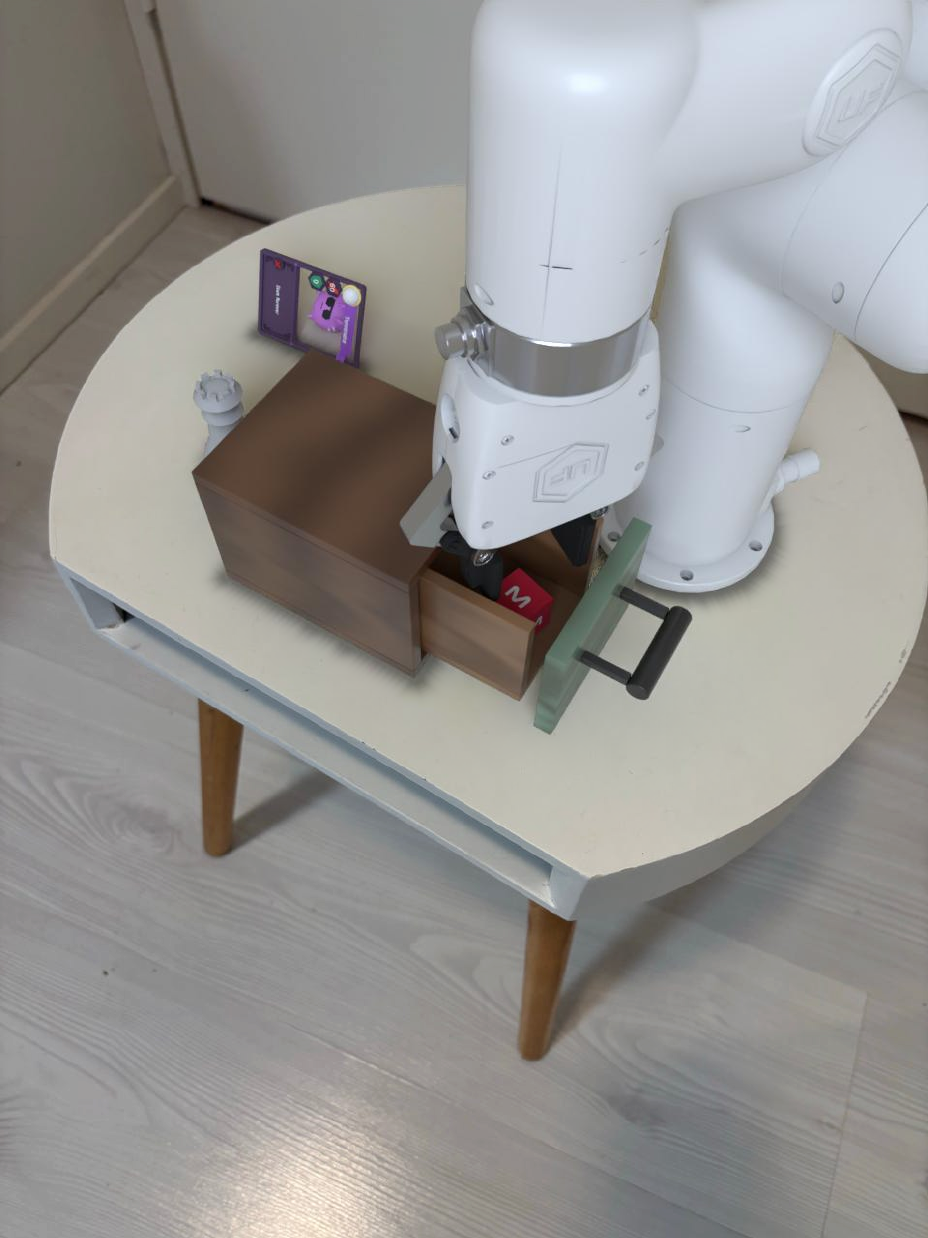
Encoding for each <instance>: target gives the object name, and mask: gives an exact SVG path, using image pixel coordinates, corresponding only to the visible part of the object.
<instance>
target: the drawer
mask: <svg viewBox="0 0 928 1238" xmlns="http://www.w3.org/2000/svg"><path fill="white" fill-rule="evenodd" d="M603 523H604V518H600V519H597V522H596V526H595V531H594V535H593V539H592V542H591V547H590V552H589V556H588V561H587V564H585V565H583V566H580V567H577V566H573V565H572V563H571V562H570V560H569V559H568V557H567V556H566V554H565V553H564V551H563V550H562V548H561V547H560V545H559V544H558V542H557V541H556V539H555V538H554V536H553V534H552V533H551V530H550V529H548V530H545V531H543V532H540V533H538V534H535V535H532V536H530V537H527V538H525V539H522V540H519V541H517V542H514V543H511V544H508V545H505V546H502V547H498V548H497V551H498V552H499V554H500V556H501V557H502V559H503V575H502V580H504V579H505V578H506V577H507V576H509V575H510V574H511V573H513V572H514V571H515V570H517V569H518V568H520V569H521V570H522V571H523V572H525V573H526V574H527V575H528V576H529V577H530V578H531V579H532V580H533V581H535V582H536V583H537V584H538V585H539V586H540V587H541V588H542V589H543V590H545V591H546V592H547V593H548V594H549V595H550V596H551V597H552V598H553V603H552V609H551V615H550V620H549V624H548V625H547V626H546V627H544V628H543V629H542V630H541V631H539V632H538V633H537V634H536V635H534V632H535V625H536V623H535V622H533V621H531V620H529V619H527V618H525V617H523V616H521V615H519V614H517V613H515V612H513V611H511V610H510V609H508V608H506V607H504V606H502V605H500V604H498V603H496V602H494V601H492V600H490V599H488V598H486V597H484V596H483V593H482V591H481V590H480V588H479V586H476V587H474V588H471V587H470V586H469V585H468V583H467V581H466V580H465V578H464V576H463V573H462V571H461V567H460V555H457V554H453V553H449V552H445V551H444V550H443V549H442V550H441V551H440V553H439V554H438V555H437V557H436V558H435V559H434V561H433V562H432V563H431V565H430V566H429V567H428V569H427V570H426V571H425V573H424V574H423V575H422V577H421V578H420V579H419V581H418V582H417V585H418V605H419V625H420V645H421V649H422V650H424V651H426V652H427V653H429V654H431V655H430V656H433V657H435V658H437V659H439V660H441V661H443V662H444V663H446V664H448V665H450V666H451V667H453V668H455V669H457V670H459V671H461V672H463V673H465V674H466V675H468V676H470V677H472V678H474V679H476V680H478V681H480V682H482V683H483V684H485V685H487V686H489V687H491V688H493V689H494V690H497V691H498V692H500V693H502V694H504V695H506V696H507V697H510V698H511V699H513V700H515V701H517V702H521V700H522V699H523V697H525V694H526V692H527V691H528V690H529V688H530V686H531V685H532V683H533V682H534V680H535V679H536V677H537V675H538V673H539V672H540V670H541V669H542V667H543V669H542V675H541V680H540V686H539V691H538V697H537V703H536V709H535V712H534V713H535V714H534V718H533V719H534V720H533V725H532V726H533V727H535V729H538V730H540V731H542V732H543V733H545V734H547V735H549V736H551V735H552V734H553V732H554V730H555V729H556V727H557V725H558V723H559V722H560V721H561V719H562V717H563V716H564V713H565V712H566V710H567V709H568V707H569V705H570V704H571V702H572V701H573V699H574V697H575V695H576V693H578V691H579V689H580V687H581V686H582V684H583V682H584V681H585V679H586V677H587V676H588V674H589V672H590V671H591V669H592V670H593V671H596V672H598V673H600V674H602V675H603V676H605V677H608V678H609V679H612V680H613V681H615V682H618V683H619V684H621V685H623V686H625V690H626V692H627V693H628V694H629V696H631V697H632V698H634V699H636V700H639V701H647V700H649V698H650V696H651V695H652V693H653V691H654V689H655V688H656V686H657V684H658V682H659V680H660V678H661V677H662V675H663V673H664V671H665V670H666V668H667V666H668V664H669V663H670V661H671V659H672V657H673V655H674V653H675V652H676V650H677V648H678V646H679V644H680V643H681V641H682V639H683V637H684V635H685V634H686V632H687V630H688V628H689V626H690V625H691V623H692V621H693V615H692V613H691V612H690V611H689V610H688V608H685V607H683V606H680V605H673V606H672V607H669V606H666V605H664V604H662V603H660V602H658V601H656V600H653V599H652V598H650V597H649V596H648V597H647V596H645V594H644V595H643V594H641V593H640V592H637V591H635V590H634V589H635V585H636V581H637V575H638V571H639V568H640V565H641V562H642V558H643V555H644V552H645V548H646V545H647V542H648V538H649V535H650V532H651V528H652V525H650V524H648V523H646V522H644V521H642V520H640V519H637V518H635V517H633V519H632V520H631V522H630V523H629V525H628V526H627V528H626V530H625V531H624V533H623V534H622V536H621V537H620V539H619V541H618V542H617V544H616V545H615V547H614V548H613V550H612V552H611V553H610V555H609V556H608V555H607V558H606V559H605V561H604V562H603V564H602V566H601V567H600V569H599V570H598V572H597V574H596V575H595V577H594V578H593V580H592V575H593V571H594V567H595V563H596V558H597V553H598V550H599V545H600V544H599V541H600V536H601V532H602V528H603ZM591 580H592V581H591ZM629 605H632V606H633V607H635V608H638V609H640V610H641V611H643V612H646V613H648V614H650V615H651V616H654V617H656V618H658V619H660V620H662V622H661V624H660V626H659V627H658V629H657V631H656V632H655V634H654V636H653V637H652V640H651V641H650V643H649V645H648V646H647V648H646V650H645V652H644V653H643V655H642V657H641V659H640V660H639V662H638V664H637V666H636V668H634V671H633V672H630V671H628V670H626V669H624V668H621V667H620V666H618V665H616V664H614V663H612V662H610V661H608V660H606V659H604V658H603V657H600V654H601V653H602V651H603V649H604V647H605V646H606V644H607V643H608V641H609V639H610V638H611V636H612V635H613V633H614V631H615V629H616V628H617V626H618V624H619V622H620V621H621V619H622V618H623V616H624V615H625V613H626V611H627V609H628V608H629Z"/></svg>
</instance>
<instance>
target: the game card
mask: <svg viewBox="0 0 928 1238" xmlns="http://www.w3.org/2000/svg"><path fill="white" fill-rule="evenodd" d="M301 269H303V270H307V271H309V272H311V273H310V274H309V276H308V277H307V279H308V282H309V285H310V288H311V289H313V290H314V291H316V294H317V296H316V297H315V300H314V301H313V304H312V312H311V313H308V314H307V315H306V317H308V318H309V319H311V320H313V321H314V323H316V325H317V326H318V327H319V328H320V329H322V330H323V331H325V332H327V333H331V334H332V333H340V332H341V337H340V338H341V339H340V345H339V351H338V352H337V354H336V355H334V354H331V353H328V352H326V351H324V350H321V349H318V348H316V347H313V346H311V345H308V344H306V343H304V342H300V341H298V340H297V332H298V331H297V330H298V314H299V299H300V298H299V297H300V283H301V282H300V278H301ZM258 273H259V274H258V308H257V311H258V312H257V332H258V333H259V334H260V335H262V336H265V337H267V338H270V339H272V340H275V341H278V342H280V343H282V344H284V345H287V346H291V347H292V348H295V349H298V350H300V351H303V352H304V353H305V352H306V353H307V352H308V351H309V350H310V349H311V348H312V349H314V350H317V351H319V352H321V353H323V354H325V355H328V356H330V357H332V358H334V359H336V360H338V361H341V362H343V363H345V364H347V365H349V366H352V367H354V368H356V369H358V370H359V366H360V359H361V350H362V349H361V348H362V340H363V339H362V338H363V329H364V322H365V321H364V320H365V311H366V300H367V292H368V287H367V285H365V284H363V283H361V282H358V281H355V280H352V279H350V278H347V277H344V276H342V275H339V274H336V273H334V272H331V271H328V270H325V269H323V268H320V267H318V266H316V265H312V264H310V263H307V262H304V261H302V260H299V259H296V258H293V257H290V256H288V255H286V254H283V253H280V252H277V251H276V250H272V249H270V248H266V247H263V248H261V249H260V251H259V272H258ZM325 278H327V279H325ZM341 283H342V284H344V285H345V286H344V287H342V284H341ZM324 288H325V290H324ZM357 309H358V311H357ZM356 315H357V319H356ZM355 324H356V328H355ZM355 329H356V330H355ZM354 332H355V340H354V349H353V358H352V359H353V360H352V362H351V361H349V360H346V358H349V359H351V354H352V346H353V339H354Z"/></svg>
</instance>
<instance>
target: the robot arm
mask: <svg viewBox="0 0 928 1238" xmlns="http://www.w3.org/2000/svg"><path fill="white" fill-rule="evenodd" d="M469 38H470V39H469V53H468V55H469V56H468V78H467V79H468V80H467V81H468V82H467V83H468V84H467V85H468V86H467V89H468V90H467V130H466V131H467V133H466V135H467V136H466V138H467V139H466V182H465V183H466V184H465V186H466V188H465V189H466V190H465V244H464V245H465V248H464V249H465V251H464V272H465V273H464V286H462V287H460V290H459V291H460V295H459V311H458V313H457V314H456V316H454V317H452V318H451V319H450V321H449V322H448V323H445V324H442V325H439V326H436V327H435V329H434V340H435V343H436V347H437V350H438V353H439V355H440V356H441V357H442V358H443V359H444V361H445V363H444V367H443V371H442V375H441V379H440V384H439V390H438V394H437V399H436V414H435V422H434V434H433V453H432V472H433V479H432V480H431V481H430V483H429V484H428V485H427V487H426V488H425V489H424V490H423V492H422V493H421V494H420V496H419V497H418V498H417V500H416V501H415V502H414V503H413V505H412V506H411V507H410V509H409V510H408V511H407V513H406V514H405V515H404V516H403V518H402V519H401V521H400V522H399V525H400V527H401V529H402V531H403V532H404V534H405V536H406V538H407V540H408V541H409V543H410V544H411V545H414V546H423V547H432V548H435V546H441V547H442V549H443V550H444V551H445V552H449V553H453V554H457V555H460V567H461V571H462V573H463V576H464V578H465V580H466V581H467V583H468V585H469V586H470V587H471V588H474V587H476V586H479V588H480V590H481V591H482V593H483V595H484V597H486V598H488V599H490V600H492V601H494V602H495V601H497V600H498V599H499V597H501V587H502V575H503V559H502V557H501V556H500V554H499V552H498V551H497V548H498V547H502V546H505V545H508V544H511V543H514V542H517V541H519V540H522V539H525V538H527V537H530V536H532V535H535V534H538V533H540V532H543V531H545V530H548V529H550V530H551V533H552V534H553V536H554V538H555V539H556V541H557V542H558V544H559V545H560V547H561V548H562V550H563V551H564V553H565V554H566V556H567V557H568V559H569V560H570V562H571V563H572V565H573V566H577V567H580V566H583V565H585V564H587V561H588V556H589V552H590V547H591V542H592V539H593V535H594V531H595V526H596V522H597V519H600V518H604V523H603V528H602V532H601V536H600V541H599V545H600V547H601V549H602V550H603V552H604V553H605V554H606V555H607V557H608V556H609V555H610V553H611V552H612V550H613V548H614V547H615V545H616V544H617V542H618V541H619V539H620V537H621V536H622V534H623V533H624V531H625V530H626V528H627V526H628V525H629V523H630V522H631V520H632V519H633V517H635V518H637V519H640V520H642V521H644V522H646V523H648V524H650V525H652V528H651V532H650V535H649V538H648V542H647V545H646V548H645V552H644V555H643V558H642V562H641V565H640V568H639V571H638V575H637V578H636V580H639V582H640V581H641V582H642V583H644V584H646V585H650V586H652V587H656V588H657V589H661V590H666V591H672V592H676V593H693V594H694V593H695V594H697V593H707V592H714V591H717V590H720V589H724V588H727V587H731V586H732V585H734V584H736V583H737V582H739V581H741V580H743V579H746V578H747V577H748V575H749V574H751V573H752V572H753V571H754V570H756V569H757V567H759V565H760V563H761V562H762V560H763V559H764V557H765V556H766V554H767V552H768V550H769V548H770V546H771V544H772V540H773V537H774V533H775V512H774V509H773V504H772V499H773V497H774V496H776V495H779V494H781V493H782V492H783V490H785V486H786V485H788V484H791V483H796V482H798V481H801V480H804V479H805V478H808V477H811V476H813V475H815V474H818V473H819V472H820V470H821V461H820V457H819V455H818V454H817V452H816V451H815V450H814V449H813V448H811V447H805V448H802V449H799V450H797V451H794V452H792V453H789V454H787V455H786V453H787V451H788V449H789V446H790V444H791V442H792V440H793V438H794V436H795V433H796V431H797V429H798V427H799V424H800V422H801V420H802V418H803V416H804V413H805V411H806V409H807V407H808V404H809V403H810V400H811V398H812V396H813V393H814V391H815V389H816V386H817V384H818V383H819V381H820V379H821V376H822V374H823V372H824V369H825V367H826V365H827V363H828V360H829V357H830V355H831V352H832V347H833V343H834V339H835V333H836V332H838V333H839V334H840V335H842V336H843V337H845V338H846V339H847V340H849V341H851V342H852V343H853V344H854V345H856V346H858V347H860V348H862V349H863V350H865V351H866V352H868V353H869V354H871V355H872V356H874V357H875V358H877V359H879V360H881V361H882V362H884V363H886V364H887V365H889V366H892V367H893V368H895V369H898V370H901V371H903V372H906V373H911V374H919V375H925V374H927V375H928V0H482V2H481V4H480V6H479V7H478V10H477V12H476V15H475V18H474V21H473V24H472V28H471V32H470V37H469ZM667 241H668V251H667V264H666V270H665V276H664V281H663V282H664V283H663V288H662V293H661V298H660V301H659V302H660V303H659V307H658V312H657V316H656V320H655V324H654V322H653V321H652V319H650V317H651V311H652V308H653V302H654V298H655V293H656V289H657V286H658V281H659V277H660V272H661V268H662V263H663V259H664V255H665V250H666V246H667ZM452 510H453V512H454V515H453V514H450V513H451V512H452Z"/></svg>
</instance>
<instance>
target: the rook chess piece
mask: <svg viewBox="0 0 928 1238" xmlns="http://www.w3.org/2000/svg"><path fill="white" fill-rule="evenodd" d="M200 379H201V381H200V380H196V381H195V387H194V390H193V395H192V400H193V402H194V406H196V407H197V408H198V409H200V410H201V413H200V415H201V417H202V419H203V420H204V421H205V422H206V423H207V430H208V435H207V438H206V441H205V443H204V449H203V459H204V458H205V457H206V456H207V455H208V454H209V453H210V452H211V451H212V450H213V449H214V448H215V447H216V446H217V445H218V444H219V443H220V442H221V441H222V440H223V439H224V438H225V437H226V436H227V435H228V434H229V433H230V432H231V431H232V429H233V428H234V427H235V426H236V425H237V424H238V423H239V422H240V421H241V420H242V419H243V418H244V415H243V414H244V408H245V407H244V404H243V402H242V401H241V400H242V399H243V394H244V390H243V387H242V385H241V384H240V383H239V381H237V380H236V379H235V378H234V377H233V375H232V374H231V373H230V372H226V373H225V374H224V375H223V371H222V369H213V375H210V374H209V373H208V371H205V372H204V373H201V375H200Z"/></svg>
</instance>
